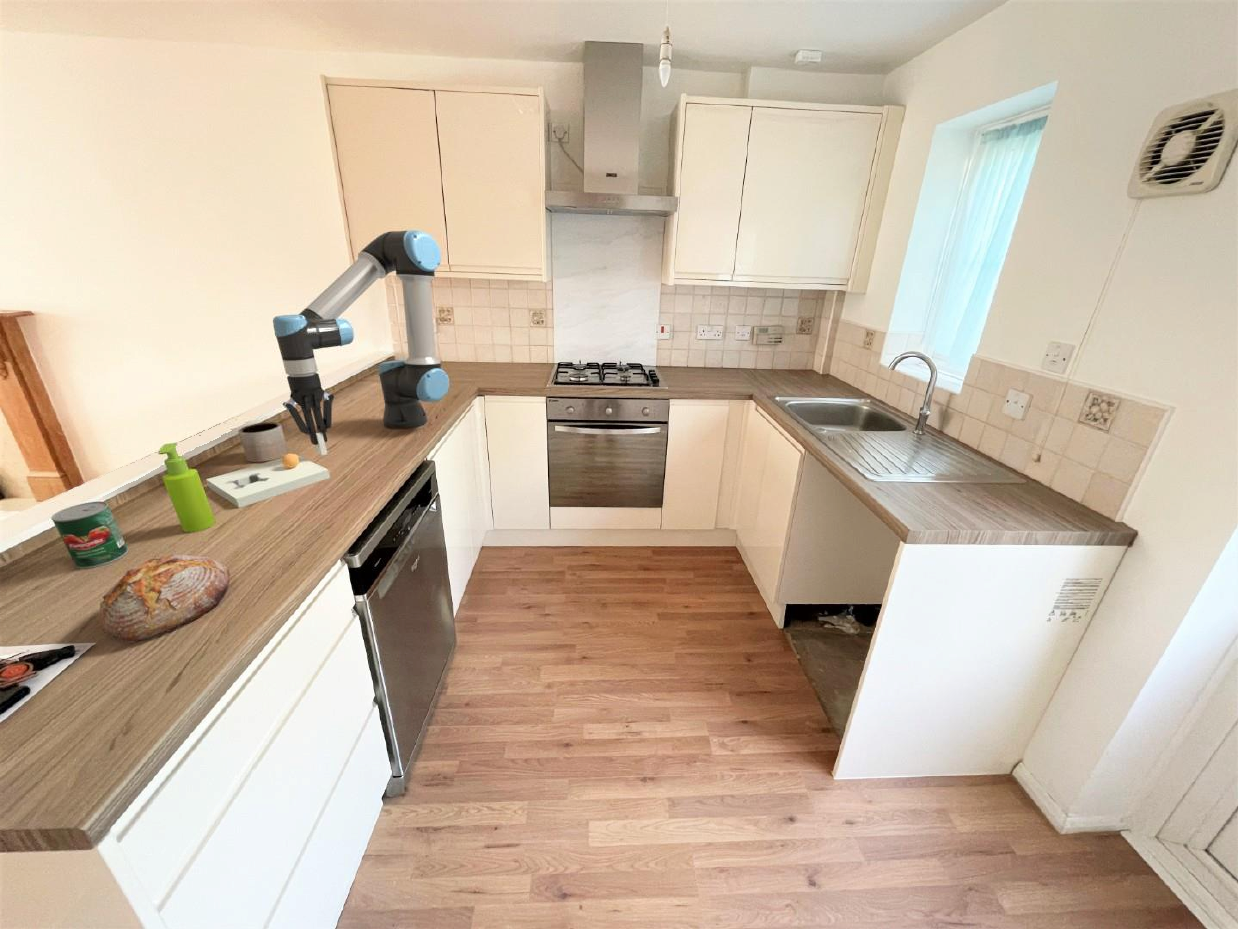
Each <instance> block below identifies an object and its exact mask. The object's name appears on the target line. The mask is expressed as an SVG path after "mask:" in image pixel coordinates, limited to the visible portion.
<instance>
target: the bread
mask: <svg viewBox="0 0 1238 929" xmlns="http://www.w3.org/2000/svg"><path fill="white" fill-rule="evenodd" d="M229 585H230V569H229V568H228V567H227V566H226V565H225V564H223V563H222V562H220V561H219V560H217V559H215V558H212V557H208V556H204V555H189V554H188V555H185V554H176V553H172V554H171V555H169V556H166V557H161V558H160V557H159V558H153V559H149V560H147V561H145V562H143V563H141V564H139V565H137V566H134V567H133V568H130V569H127V571H126V572H125V573H124V574H123V575H122V578H120V579H119V580H118V581H117V582H116V583H115V584H114V585H113V586H112V587H111V588H110V589H109V590H108V592H107V593H105V594H104V595H103V596H102V598H103V601H101V602H100V603H99V605H100V606H99V607H100V608H99V610H100V611H99V617H100V624H101V629H102V630H103V631H104V633H105V634H106V635H108V637H111V638H113V639H117V640H119V641H122V642H125V643H126V642H127V643H128V642H131V643H132V642H138V641H141V640H142V641H143V640H146V639H149V638H152V637H156V636H159V635H161V634H164V633H166V632H168V631H171V630H174V629H176V628H178V627H180V626H181V625H183V624H186V623H188V622H190V621H192V620H195V619H197V618H199V617H200V616H202V615H204V614H206V613H208V612H209V611H212V610H213V609H215V608H216V607H217V606H219V605H220V603H221V601H222V600H223V598H224V597H225V596H226V594H227V592H228V589H229Z"/></svg>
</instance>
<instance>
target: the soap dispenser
mask: <svg viewBox="0 0 1238 929" xmlns="http://www.w3.org/2000/svg"><path fill="white" fill-rule="evenodd" d="M176 446H178V444H177V442H171V443H166V444H162V446H161V447H160V448H159V450H158V453H157V454H158V455H167V458H166V459H165V460H164V464H165V467H166V470H167V474H166V473H165V475H163V476H162V480H163V483H164V486H165V489H166V490H167V493H168V495H169V498H170V500H171V502H172V503H171V504H172V505H173V508H174V510H175V513H176V515H177V518H178V520H179V523H180V526H181V529H182V530H183V532H186V533H195V532H199V531H204V530H207V529H209V528H211V527H212V526H214V525H215V524H216V523H217V522H216V518H215V516H214V512H213V511H212V507H211V504H210V503H209V500H208V497H207V495H206V494H207V493H206V490H205V489H204V486H203V484H202V481H201V478H200V475H199V472H198V470H197V469H195V468H189V467H188V463H187V460H186V458H185V456H181V455H179V454H178V452H177V449H176Z"/></svg>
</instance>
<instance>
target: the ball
mask: <svg viewBox="0 0 1238 929" xmlns="http://www.w3.org/2000/svg"><path fill="white" fill-rule="evenodd" d="M296 455H297V454H294V453H288V454H286V455H284V456H283V457H282V464H283V465H284V466H285V467H288V468H293V467H295V466H297V465H298V463H299V459H298V457H297V456H298V455H297V456H296Z"/></svg>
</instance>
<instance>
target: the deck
mask: <svg viewBox="0 0 1238 929" xmlns="http://www.w3.org/2000/svg"><path fill="white" fill-rule="evenodd" d="M295 455H296V456H297V457H298V459H299V463H298V465H297V466H295V467H293V468H288V467H285V466H284V465H283V464H282V458H283V457H282V458H280V459H276V460H273V461H269V462H261V463H260V464H259V463H258V464H256V465H252V466H248V467H246V468H241V469H238V470H234V471H230V472H227V473H224V474H220V475H217V476H213V477H210V478H206V479H205V480H206V482H207V485H208V488H209V489H210V490H212V491H213V492H215V493H216V494H218V495H219V496H221V497H222V498H223V499H225V500H227V501H228V502H230V503H231V504H233V505H234V506H236V507H237V508H239V509H241V508H244V507H247V506H249V505H252V504H255V503H259V502H261V501H265V500H268V499H271V498H273V497H276V496H279V495H283V494H285V493H289V492H292V491H296V490H298V489H300V488H304V487H307V486H309V485H313V484H317V483H318V482H322V481H325V480H328V479H330V478H331V475H330V471H329V469H328V468H325V467H323V466H322V465H320V464H317V463H314V462H312V461H310V460H308V459H305V458H304V457H302V456H299V455H297V454H295Z"/></svg>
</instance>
